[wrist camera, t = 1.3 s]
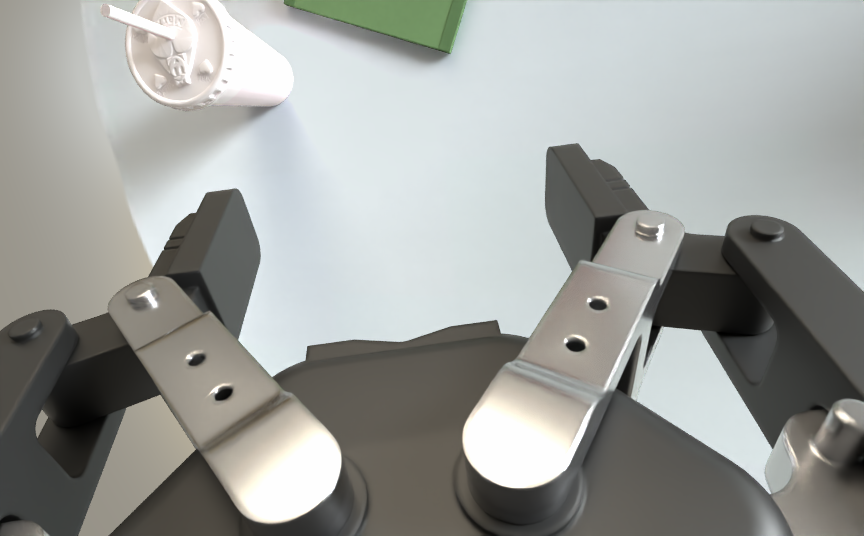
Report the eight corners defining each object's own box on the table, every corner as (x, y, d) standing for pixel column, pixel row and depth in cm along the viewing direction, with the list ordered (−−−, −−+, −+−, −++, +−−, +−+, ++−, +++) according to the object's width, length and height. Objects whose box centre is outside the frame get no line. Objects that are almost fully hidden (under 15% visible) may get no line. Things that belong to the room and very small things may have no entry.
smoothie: (299, 19, 37) (149, -74, 23) (320, 114, 37) (185, 77, 24) (218, 44, 38) (34, -30, 25) (240, 135, 39) (71, 111, 25)
